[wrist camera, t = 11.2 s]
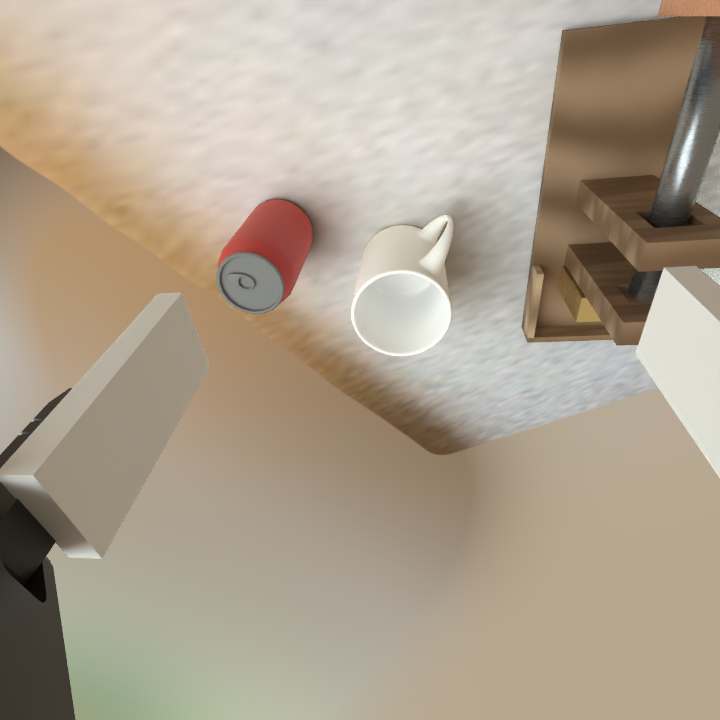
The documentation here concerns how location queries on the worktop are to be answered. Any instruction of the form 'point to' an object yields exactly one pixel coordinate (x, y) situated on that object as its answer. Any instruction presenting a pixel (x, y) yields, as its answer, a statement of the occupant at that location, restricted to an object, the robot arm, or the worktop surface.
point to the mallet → (687, 135)
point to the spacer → (575, 298)
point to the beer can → (265, 257)
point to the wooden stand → (612, 178)
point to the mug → (404, 289)
